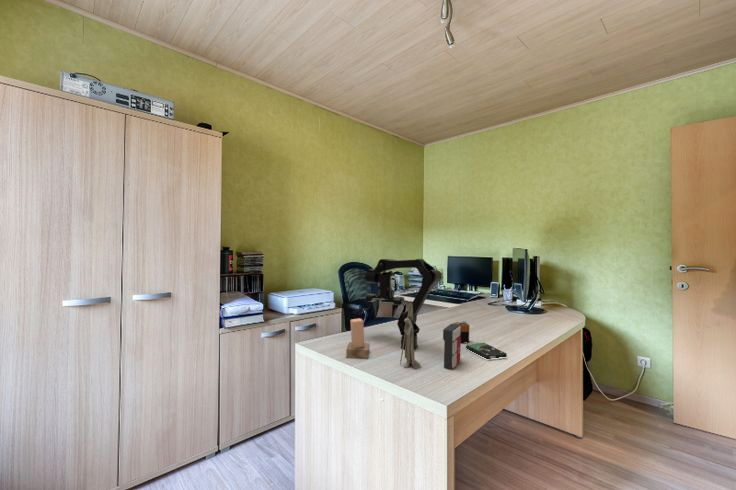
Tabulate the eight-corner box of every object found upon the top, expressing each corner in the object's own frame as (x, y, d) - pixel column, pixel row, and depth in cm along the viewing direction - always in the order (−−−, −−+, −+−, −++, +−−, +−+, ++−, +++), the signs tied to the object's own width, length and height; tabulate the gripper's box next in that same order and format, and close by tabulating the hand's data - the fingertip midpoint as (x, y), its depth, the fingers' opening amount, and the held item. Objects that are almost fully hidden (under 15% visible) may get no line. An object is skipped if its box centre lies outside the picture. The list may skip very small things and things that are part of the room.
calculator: (453, 370, 116) (454, 331, 116) (442, 367, 119) (443, 329, 119) (461, 361, 126) (461, 324, 126) (450, 359, 128) (451, 323, 128)
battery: (469, 343, 149) (469, 322, 149) (456, 343, 148) (456, 323, 148) (464, 340, 154) (465, 320, 154) (452, 340, 152) (452, 320, 152)
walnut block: (369, 352, 135) (369, 343, 135) (367, 359, 126) (368, 350, 126) (349, 351, 136) (349, 342, 136) (346, 358, 127) (346, 349, 127)
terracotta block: (361, 343, 134) (360, 318, 133) (364, 346, 129) (363, 320, 129) (351, 344, 132) (350, 319, 132) (354, 348, 128) (352, 322, 128)
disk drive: (507, 360, 130) (483, 348, 144) (507, 353, 130) (484, 342, 144) (486, 362, 127) (465, 349, 141) (487, 355, 127) (465, 343, 141)
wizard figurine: (395, 360, 125) (396, 299, 125) (414, 358, 127) (416, 298, 127) (404, 370, 115) (405, 304, 115) (425, 368, 117) (426, 303, 117)
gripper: (408, 284, 153) (407, 315, 153) (373, 281, 161) (373, 311, 161) (401, 286, 143) (400, 320, 143) (364, 283, 151) (364, 315, 151)
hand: (384, 316), depth 150 cm, fingers open, 9 cm apart
